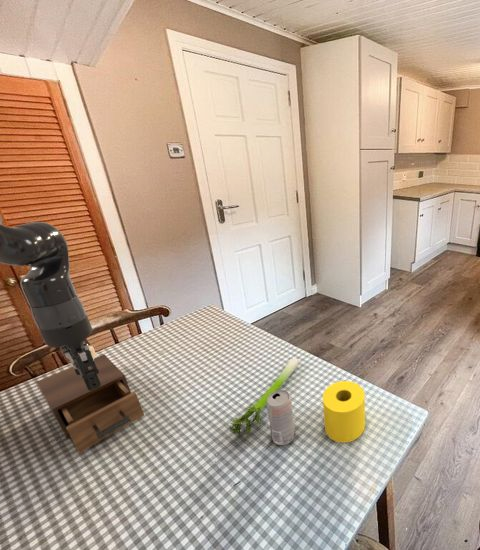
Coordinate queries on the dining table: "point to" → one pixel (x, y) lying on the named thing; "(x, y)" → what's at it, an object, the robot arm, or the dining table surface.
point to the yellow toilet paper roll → (344, 411)
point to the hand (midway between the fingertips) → (88, 380)
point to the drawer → (101, 414)
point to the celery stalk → (263, 400)
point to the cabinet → (76, 387)
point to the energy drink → (281, 417)
